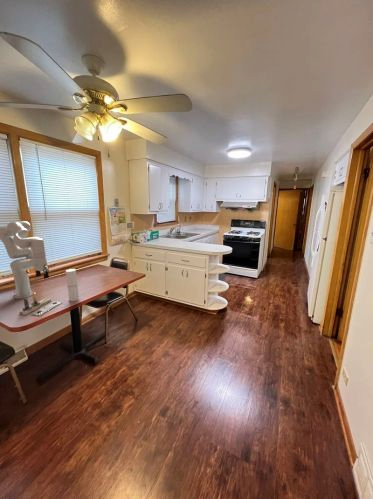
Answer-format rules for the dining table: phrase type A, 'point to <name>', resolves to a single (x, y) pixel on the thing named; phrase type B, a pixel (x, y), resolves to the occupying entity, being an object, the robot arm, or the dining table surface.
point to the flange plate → (46, 308)
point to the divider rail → (33, 306)
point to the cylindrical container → (72, 284)
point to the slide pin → (35, 299)
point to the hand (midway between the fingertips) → (42, 277)
